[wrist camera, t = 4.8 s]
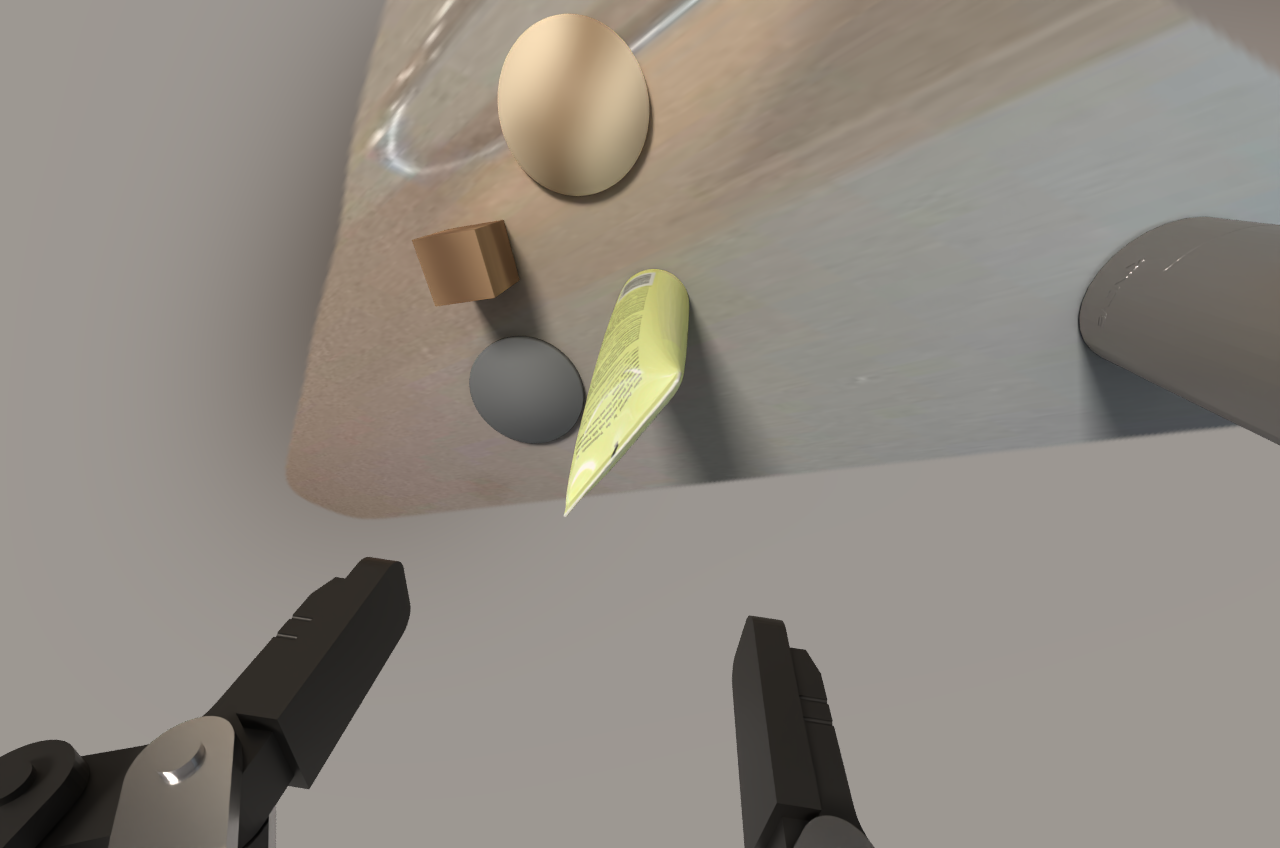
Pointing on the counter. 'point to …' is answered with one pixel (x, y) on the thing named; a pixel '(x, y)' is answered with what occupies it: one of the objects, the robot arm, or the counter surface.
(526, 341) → the pad
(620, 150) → the pad
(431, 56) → the counter surface
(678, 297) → the tube
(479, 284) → the walnut block
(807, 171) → the counter surface
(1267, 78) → the counter surface
